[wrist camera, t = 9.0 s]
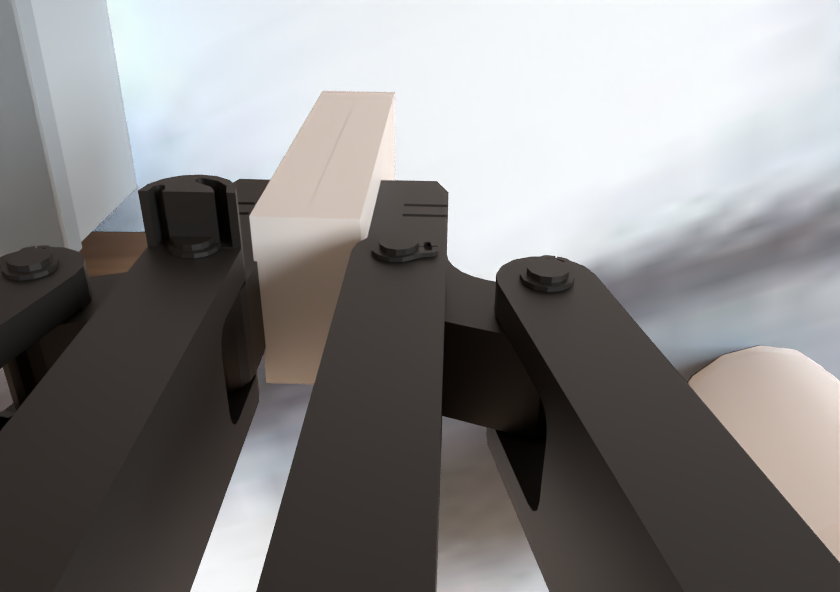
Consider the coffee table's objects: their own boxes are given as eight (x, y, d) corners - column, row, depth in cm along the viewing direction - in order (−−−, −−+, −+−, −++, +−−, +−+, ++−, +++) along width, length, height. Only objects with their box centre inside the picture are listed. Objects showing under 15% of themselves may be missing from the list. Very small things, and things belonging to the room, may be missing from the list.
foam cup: (789, 527, 34) (964, 849, 23) (596, 467, 33) (678, 775, 22) (924, 353, 30) (1220, 639, 19) (709, 277, 29) (884, 533, 17)
